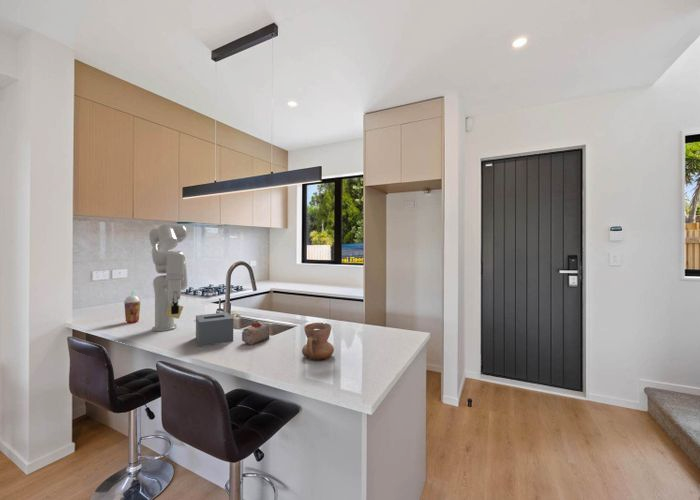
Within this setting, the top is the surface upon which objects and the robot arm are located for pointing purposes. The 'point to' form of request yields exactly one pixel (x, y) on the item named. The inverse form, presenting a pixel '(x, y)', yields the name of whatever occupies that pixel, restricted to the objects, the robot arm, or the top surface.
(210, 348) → the top surface
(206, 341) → the money box
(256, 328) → the food item
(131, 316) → the smoothie
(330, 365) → the top surface
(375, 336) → the top surface
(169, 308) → the yellow square slab
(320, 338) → the ceramic jug
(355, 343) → the top surface
